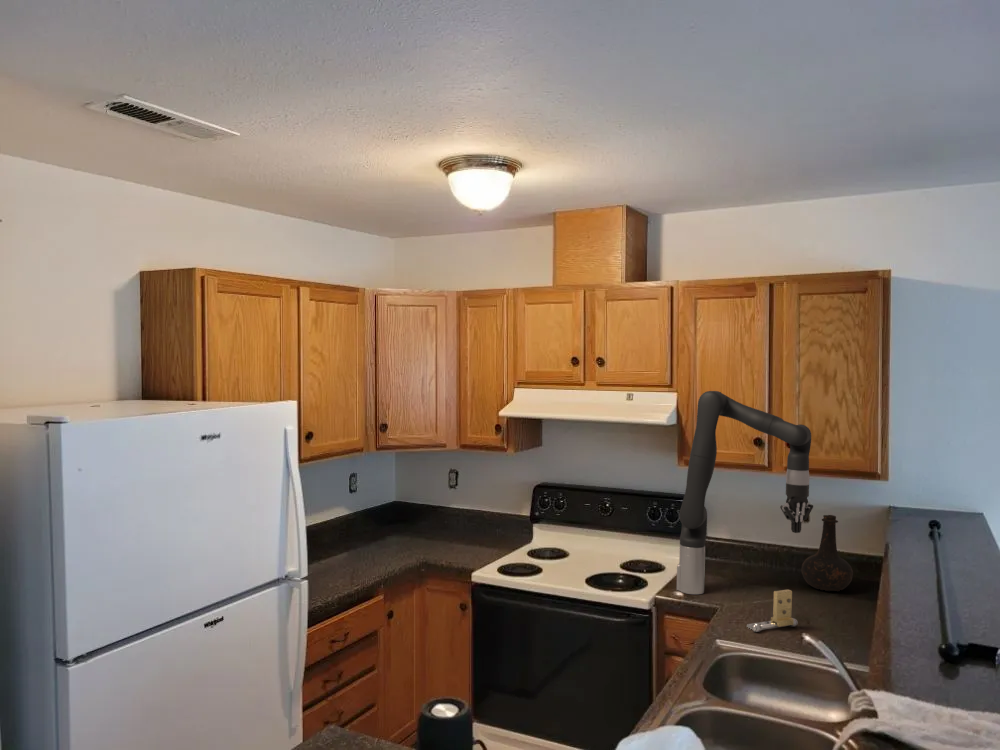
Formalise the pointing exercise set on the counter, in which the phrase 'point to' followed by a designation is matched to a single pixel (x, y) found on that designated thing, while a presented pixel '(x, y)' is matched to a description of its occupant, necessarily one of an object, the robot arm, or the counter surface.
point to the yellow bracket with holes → (782, 608)
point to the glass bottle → (827, 562)
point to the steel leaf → (767, 625)
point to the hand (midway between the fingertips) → (796, 532)
